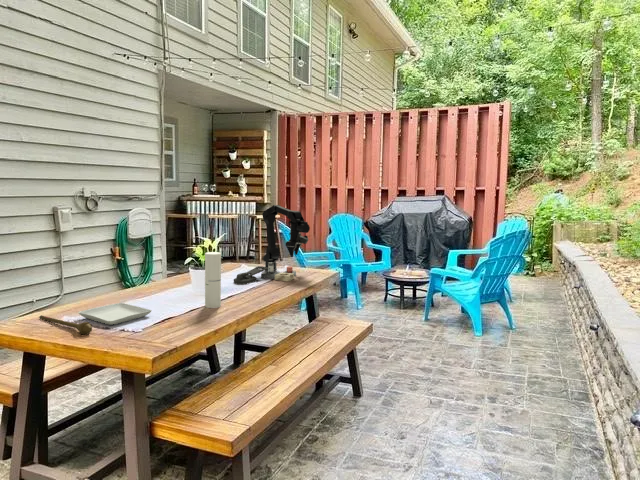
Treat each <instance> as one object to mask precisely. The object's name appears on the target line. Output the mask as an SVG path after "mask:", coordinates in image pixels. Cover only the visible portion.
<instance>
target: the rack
mask: <svg viewBox="0 0 640 480" xmlns="http://www.w3.org/2000/svg"><path fill="white" fill-rule="evenodd" d="M294 278H295V276H294V274H291V273H283V272H280V273H278V274H276V275H275V279H274V281H281V282H291V281H292V280H294Z"/></svg>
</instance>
